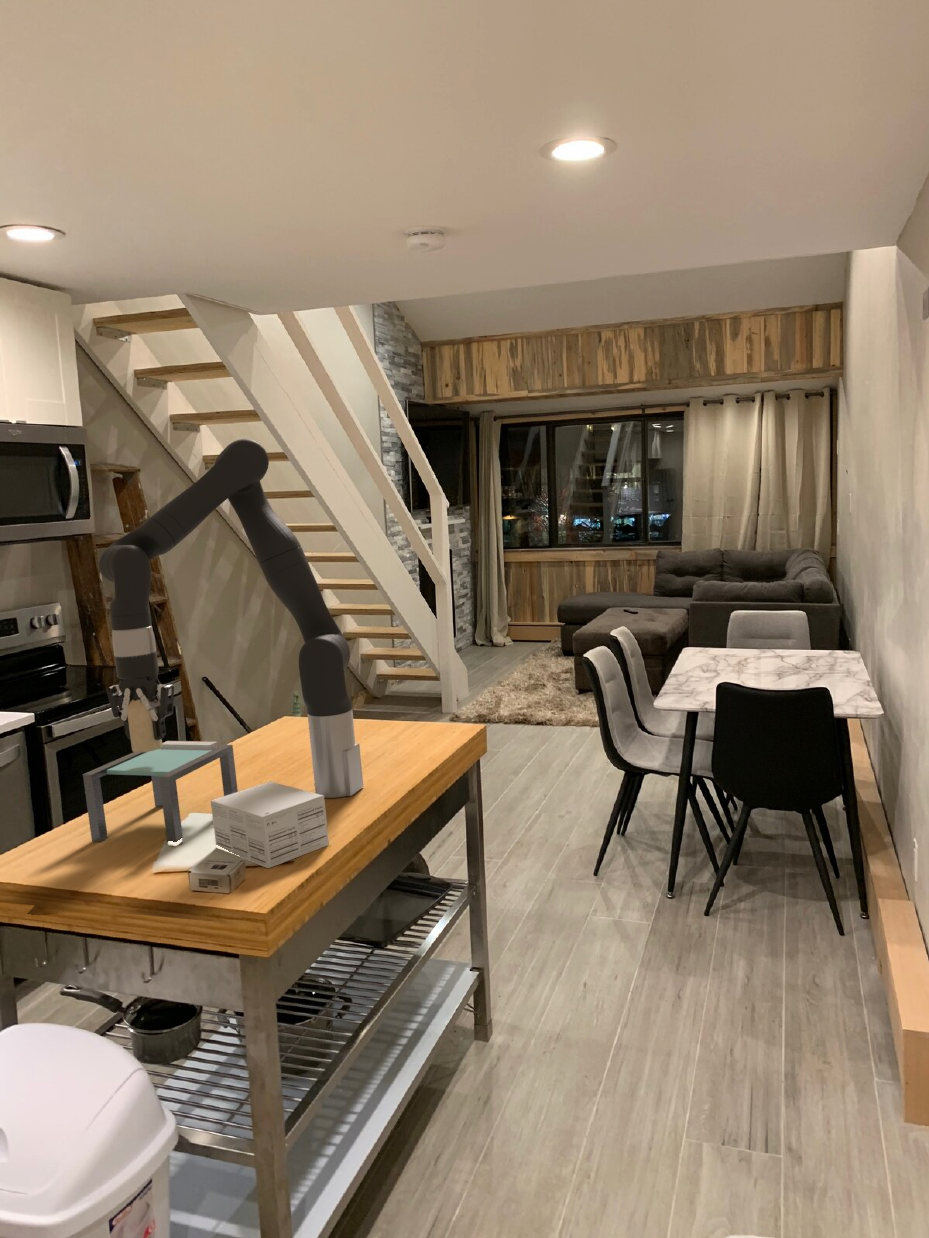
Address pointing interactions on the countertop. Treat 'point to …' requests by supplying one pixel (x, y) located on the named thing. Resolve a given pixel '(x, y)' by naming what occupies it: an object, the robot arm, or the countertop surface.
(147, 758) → the trapdoor
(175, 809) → the frame
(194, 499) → the robot arm
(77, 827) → the countertop surface
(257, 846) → the supplement box
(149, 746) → the candle
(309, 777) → the countertop surface
